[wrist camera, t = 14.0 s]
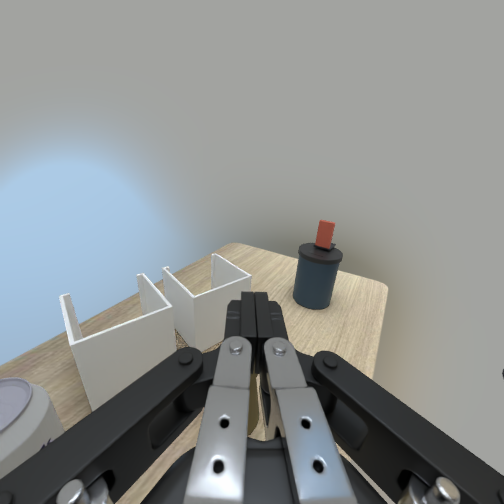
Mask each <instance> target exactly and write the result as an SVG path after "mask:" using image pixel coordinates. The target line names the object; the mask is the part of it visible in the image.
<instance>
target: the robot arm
mask: <svg viewBox="0 0 504 504" xmlns="http://www.w3.org/2000/svg"><path fill="white" fill-rule="evenodd" d="M253 371H254V372H255V374H260V386H259V392H260V399H261V406H262V413H263V420H264V427H265V437H266V441H259V440H256V439H253V438H249V437H247V429H248V411H249V393H250V388H249V387H250V379H251V374H253ZM203 407H205V408H204V413H203V417H202V421H201V426H200V430H199V435H198V439H197V443H196V447H194V448H192V449H190V450H189V451H187V452H186V453H184V454H183V455H182V456H181V457H179V458H178V459H177V460H176V461H175V462H174V463H173V464H172V466H171V467H170V468H169V469H168V470H167V472H166V473H165V474H164V475H163V476H162V478H161V479H160V480H159V481H158V482H157V484H156V485H155V486H154V487H153V489H152V490H151V491H150V492H149V493H148V495H147V496H146V497H145V498H144V500H143V501H142V502H141V503H140V504H387V502H386V501H385V500H384V499H383V498H382V497H381V496H380V495H379V494H378V492H377V491H376V490H375V489H374V488H373V487H372V486H371V485H370V484H369V483H368V481H366V479H365V478H364V477H363V476H362V475H361V474H360V473H359V472H358V471H357V469H356V468H355V467H354V466H353V465H352V464H351V463H350V462H349V461H348V460H347V459H346V458H344V457H343V456H342V455H341V454H339V451H338V449H337V446H336V443H337V444H338V445H339V446H340V447H341V448H342V449H343V450H344V451H345V452H346V453H347V454H348V455H349V456H350V457H351V459H352V460H353V461H354V462H355V463H356V464H357V465H358V466H359V467H360V468H361V469H362V470H363V471H364V472H365V473H366V474H367V475H368V476H369V477H370V478H371V479H372V480H373V481H374V482H375V483H376V484H377V485H378V486H379V487H380V488H381V489H382V490H383V491H384V492H385V493H386V494H387V495H388V496H389V497H390V498H391V499H392V501H393V502H394V503H395V504H504V476H503V475H501V474H500V473H499V472H497V471H496V470H494V469H493V468H492V467H490V466H489V465H487V464H486V463H485V462H484V461H482V460H481V459H480V458H478V457H477V456H475V455H474V454H473V453H471V452H470V451H468V450H467V449H466V448H464V447H463V446H462V445H460V444H459V443H458V442H456V441H455V440H454V439H452V438H451V437H449V436H448V435H446V434H445V433H444V432H443V431H441V430H440V429H438V428H437V427H436V426H434V425H433V424H432V423H430V422H429V421H427V420H426V419H425V418H423V417H422V416H421V415H419V414H418V413H416V412H415V411H414V410H412V409H411V408H410V407H408V406H407V405H406V404H404V403H403V402H401V401H400V400H399V399H397V398H396V397H395V396H393V395H392V394H390V393H389V392H388V391H386V390H385V389H384V388H382V387H381V386H380V385H378V384H377V383H375V382H374V381H373V380H371V379H370V378H369V377H367V376H366V375H364V374H363V373H362V372H360V371H359V370H358V369H356V368H355V367H353V366H352V365H351V364H349V363H348V362H347V361H345V360H344V359H343V358H341V357H340V356H338V355H337V354H335V353H333V352H330V351H320V352H317V353H316V354H315V356H314V357H313V356H310V355H306V354H303V353H301V352H299V351H297V350H296V349H294V346H293V345H292V344H291V342H289V340H288V335H287V331H286V327H285V323H284V318H283V315H282V310H281V307H280V305H279V304H278V303H277V302H276V301H268V295H267V292H246V291H241V300H231V301H230V303H229V304H228V305H227V314H226V323H225V332H224V340H223V342H222V344H221V345H220V346H219V347H218V348H217V349H215V350H213V351H210V352H207V353H203V354H202V353H201V351H200V350H198V349H196V348H193V347H184V348H181V349H179V350H177V351H175V352H174V353H173V354H171V355H170V356H168V357H167V358H166V359H164V360H163V361H162V362H160V363H159V364H158V365H156V366H155V367H153V368H152V369H151V370H149V371H148V372H147V373H145V374H144V375H142V376H141V377H140V378H138V379H137V380H136V381H134V382H133V383H131V384H130V385H129V386H127V387H126V388H125V389H123V390H122V391H121V392H119V393H118V394H116V395H115V396H114V397H112V398H111V399H110V400H108V401H107V402H105V403H104V404H103V405H101V406H100V407H99V408H97V409H96V410H95V411H93V412H92V413H90V414H89V415H88V416H86V417H85V418H84V419H82V420H81V421H79V422H78V423H77V424H75V425H74V426H73V427H71V428H70V429H68V430H67V431H66V432H64V433H63V434H62V435H60V436H59V437H58V438H56V439H55V440H53V441H52V442H51V443H49V444H48V445H47V446H45V447H44V448H42V449H41V450H40V451H38V452H37V453H36V454H34V455H33V456H32V457H30V458H29V459H27V460H26V461H25V462H23V463H22V464H21V465H19V466H18V467H16V468H15V469H14V470H12V471H11V472H10V473H8V474H7V475H5V476H4V477H3V478H1V479H0V504H115V503H116V502H117V501H118V500H119V499H120V498H121V497H122V496H123V495H124V494H125V492H126V491H127V490H128V489H129V488H130V487H131V486H132V485H133V484H134V483H135V482H136V481H137V480H138V479H139V478H140V476H141V475H142V474H143V473H144V472H145V471H146V470H147V469H148V468H149V467H150V466H151V465H152V464H153V463H154V461H155V460H156V459H157V458H158V457H159V456H160V455H161V454H162V453H163V452H164V451H165V450H166V449H167V448H168V446H169V445H170V444H171V443H172V442H173V441H174V440H175V439H176V438H177V437H178V436H179V435H180V434H181V433H182V432H183V430H184V429H185V428H186V427H187V426H188V425H189V424H190V423H191V422H192V421H193V420H194V419H195V418H196V417H197V415H198V414H199V413H200V412H201V411H202V409H203ZM335 442H336V443H335Z"/></svg>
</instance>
